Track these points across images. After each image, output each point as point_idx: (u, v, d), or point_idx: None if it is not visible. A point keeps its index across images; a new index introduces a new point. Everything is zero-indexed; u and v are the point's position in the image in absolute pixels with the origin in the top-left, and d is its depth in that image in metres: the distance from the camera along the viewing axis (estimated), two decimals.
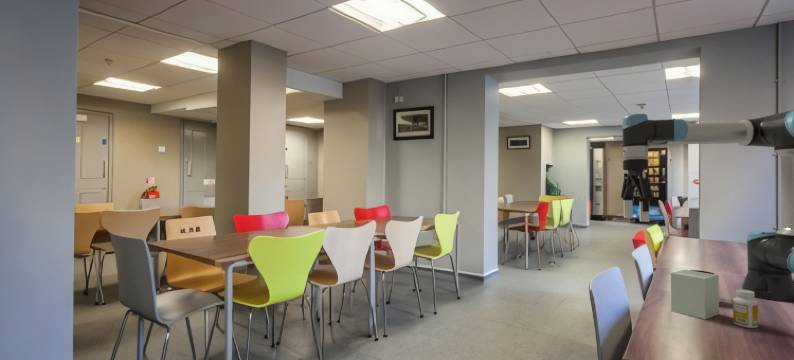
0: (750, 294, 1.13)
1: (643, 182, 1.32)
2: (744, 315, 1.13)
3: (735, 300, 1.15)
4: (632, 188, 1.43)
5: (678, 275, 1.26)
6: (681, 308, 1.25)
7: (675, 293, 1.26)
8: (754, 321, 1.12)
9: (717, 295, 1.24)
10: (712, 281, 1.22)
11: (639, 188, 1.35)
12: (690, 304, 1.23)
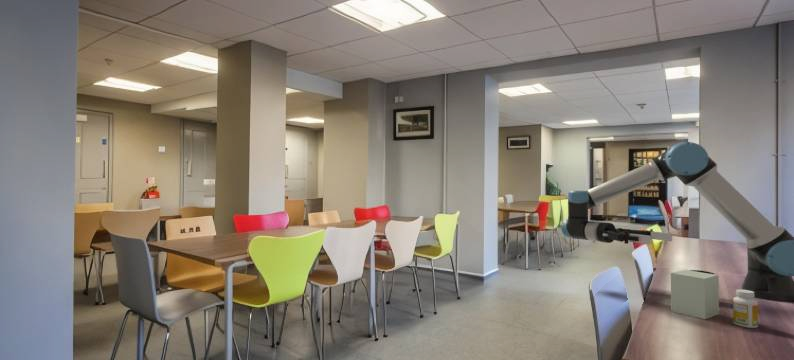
0: (750, 294, 1.13)
1: (610, 237, 1.42)
2: (744, 315, 1.13)
3: (735, 300, 1.15)
4: (634, 233, 1.46)
5: (678, 275, 1.26)
6: (681, 308, 1.25)
7: (675, 293, 1.26)
8: (754, 321, 1.12)
9: (717, 295, 1.24)
10: (712, 281, 1.22)
11: None
12: (690, 304, 1.23)
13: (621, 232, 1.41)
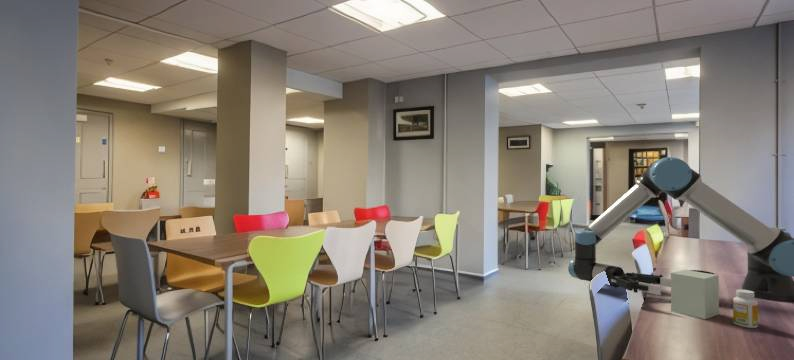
0: (750, 294, 1.13)
1: (618, 283, 1.39)
2: (744, 315, 1.13)
3: (735, 300, 1.15)
4: (643, 278, 1.43)
5: (678, 275, 1.26)
6: (681, 308, 1.25)
7: (675, 293, 1.26)
8: (754, 321, 1.12)
9: (717, 295, 1.24)
10: (712, 281, 1.22)
11: None
12: (690, 304, 1.23)
13: (630, 279, 1.38)
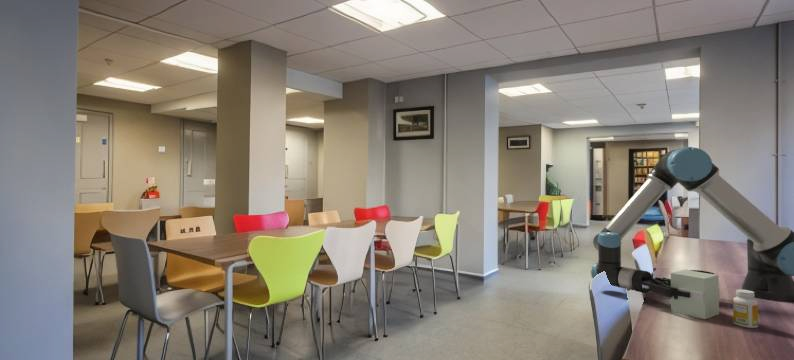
0: (750, 294, 1.13)
1: (653, 290, 1.30)
2: (744, 315, 1.13)
3: (735, 300, 1.15)
4: None
5: (678, 275, 1.26)
6: (681, 308, 1.25)
7: None
8: (754, 321, 1.12)
9: (717, 295, 1.24)
10: (712, 281, 1.22)
11: None
12: (690, 304, 1.23)
13: (665, 284, 1.30)
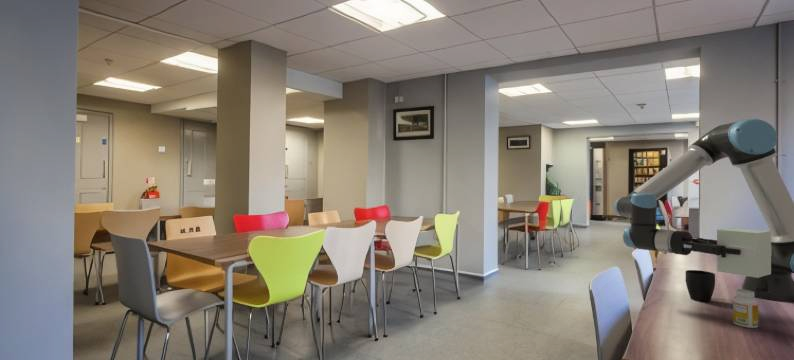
0: (750, 294, 1.13)
1: (697, 249, 1.19)
2: (744, 315, 1.13)
3: (735, 300, 1.15)
4: None
5: (726, 231, 1.15)
6: (729, 267, 1.14)
7: None
8: (754, 321, 1.12)
9: (769, 253, 1.13)
10: (765, 237, 1.11)
11: None
12: (740, 262, 1.12)
13: (709, 243, 1.19)
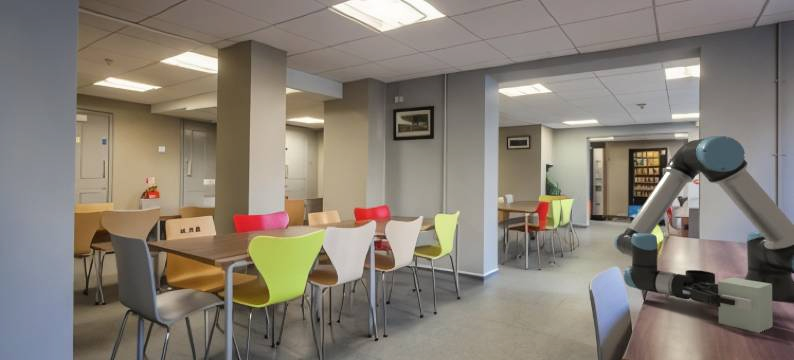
0: None
1: (694, 296, 1.19)
2: None
3: None
4: None
5: (727, 284, 1.14)
6: (731, 320, 1.14)
7: None
8: None
9: (770, 306, 1.12)
10: (766, 290, 1.11)
11: None
12: (741, 316, 1.12)
13: (707, 290, 1.19)
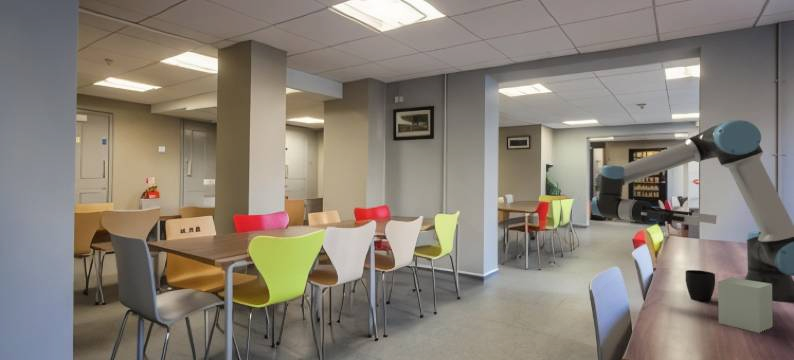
0: None
1: (650, 216, 1.31)
2: None
3: None
4: (673, 213, 1.36)
5: (727, 284, 1.14)
6: (731, 320, 1.14)
7: (723, 303, 1.15)
8: None
9: (770, 306, 1.12)
10: (766, 290, 1.11)
11: None
12: (741, 316, 1.12)
13: (662, 212, 1.31)
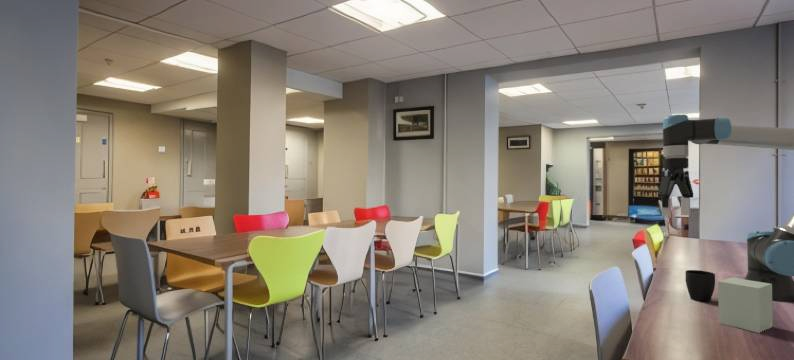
0: None
1: (663, 180, 1.43)
2: None
3: None
4: (682, 186, 1.48)
5: (727, 284, 1.14)
6: (731, 320, 1.14)
7: (723, 303, 1.15)
8: None
9: (770, 306, 1.12)
10: (766, 290, 1.11)
11: None
12: (741, 316, 1.12)
13: (673, 186, 1.43)
